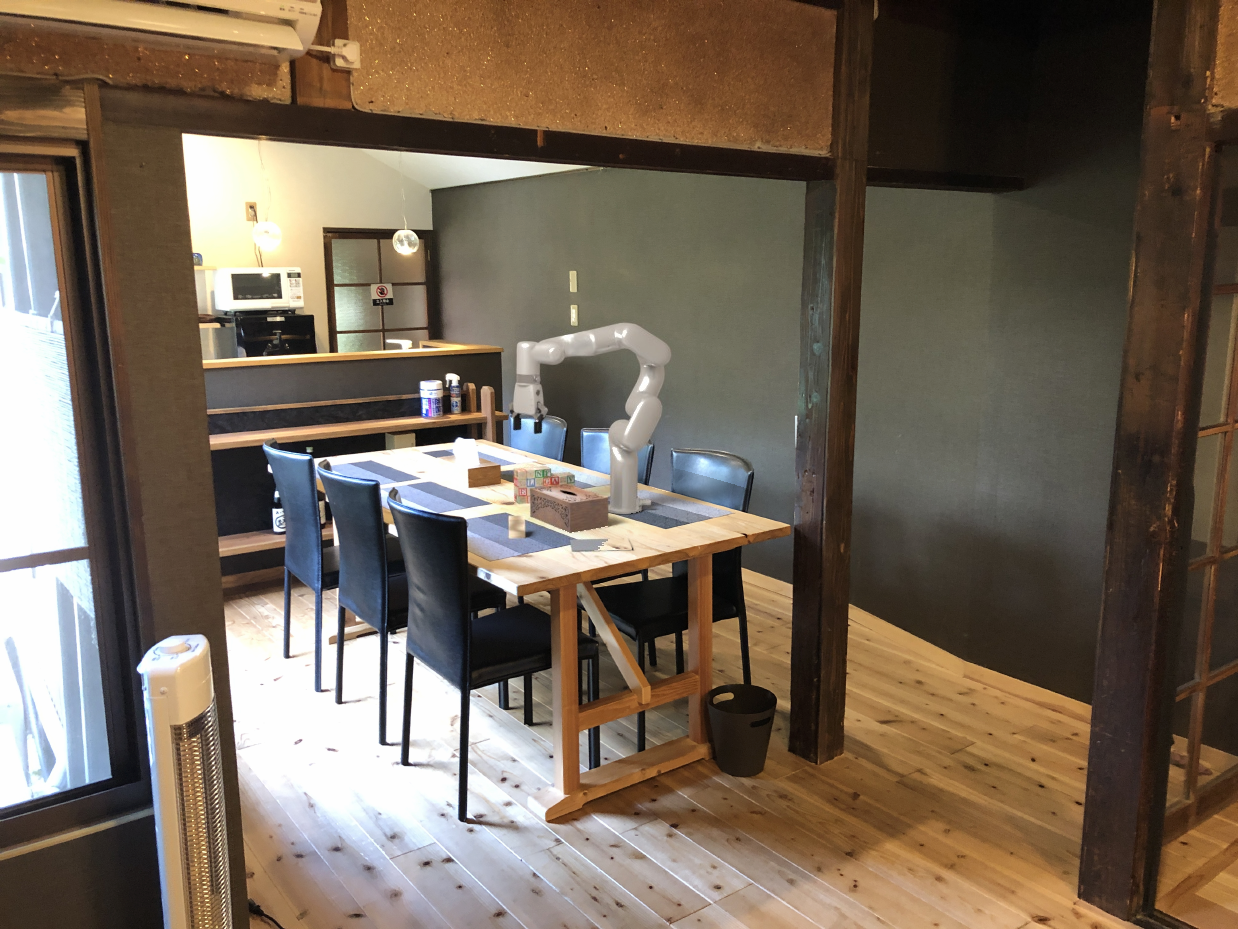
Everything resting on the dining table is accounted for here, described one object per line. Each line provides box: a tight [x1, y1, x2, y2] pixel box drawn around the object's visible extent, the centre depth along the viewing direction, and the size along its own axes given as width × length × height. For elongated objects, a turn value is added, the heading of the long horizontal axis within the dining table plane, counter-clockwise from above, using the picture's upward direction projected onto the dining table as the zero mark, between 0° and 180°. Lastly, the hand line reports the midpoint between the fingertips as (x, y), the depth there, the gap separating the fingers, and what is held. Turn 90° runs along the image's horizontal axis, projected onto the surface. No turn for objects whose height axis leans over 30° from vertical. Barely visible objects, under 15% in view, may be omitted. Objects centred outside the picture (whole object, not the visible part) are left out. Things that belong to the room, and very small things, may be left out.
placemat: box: [569, 538, 609, 552], centre depth 282 cm, size 18×12×1 cm, turn 96°
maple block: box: [508, 515, 526, 539], centre depth 291 cm, size 5×5×6 cm
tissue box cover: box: [529, 484, 609, 534], centre depth 310 cm, size 26×14×10 cm, turn 34°
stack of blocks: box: [513, 465, 576, 505], centre depth 340 cm, size 21×6×12 cm, turn 112°
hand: (527, 431), depth 308 cm, fingers open, 9 cm apart
